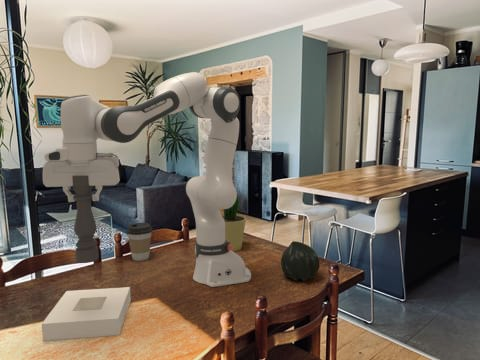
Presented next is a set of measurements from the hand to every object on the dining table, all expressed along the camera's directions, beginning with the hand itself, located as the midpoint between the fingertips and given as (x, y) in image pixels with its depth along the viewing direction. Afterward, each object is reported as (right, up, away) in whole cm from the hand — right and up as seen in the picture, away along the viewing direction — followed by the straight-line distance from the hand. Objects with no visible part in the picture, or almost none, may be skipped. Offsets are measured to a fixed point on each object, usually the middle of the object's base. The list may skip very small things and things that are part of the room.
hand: (83, 201), depth 103 cm
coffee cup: (+1, -29, +56) cm, 63 cm away
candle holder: (0, -17, +2) cm, 18 cm away
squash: (+68, -32, +36) cm, 83 cm away
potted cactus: (+40, -27, +70) cm, 85 cm away
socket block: (0, -36, +5) cm, 37 cm away
